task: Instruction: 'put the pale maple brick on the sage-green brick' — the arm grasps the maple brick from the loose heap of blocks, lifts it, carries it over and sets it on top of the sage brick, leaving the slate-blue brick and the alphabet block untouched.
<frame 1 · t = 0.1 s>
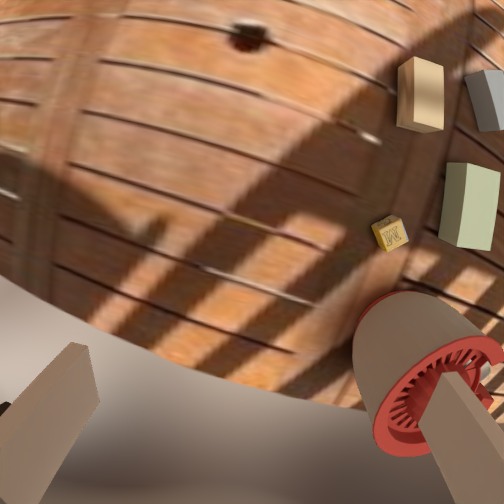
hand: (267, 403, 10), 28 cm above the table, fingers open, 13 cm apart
sage brick: (459, 203, 35), on the table
maple brick: (411, 99, 32), on the table
alphabet block: (384, 230, 37), on the table
citrus juicer: (397, 326, 40), on the table
slate brick: (481, 103, 31), on the table
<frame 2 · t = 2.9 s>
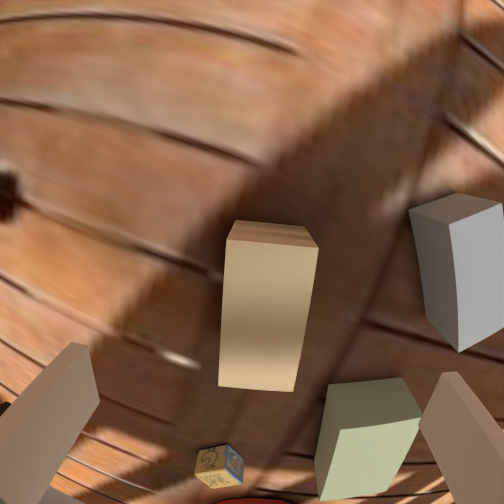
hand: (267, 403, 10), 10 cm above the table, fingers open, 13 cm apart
sage brick: (354, 423, 23), on the table
maple brick: (263, 286, 19), on the table
alphabet block: (222, 453, 24), on the table
slate brick: (442, 257, 19), on the table
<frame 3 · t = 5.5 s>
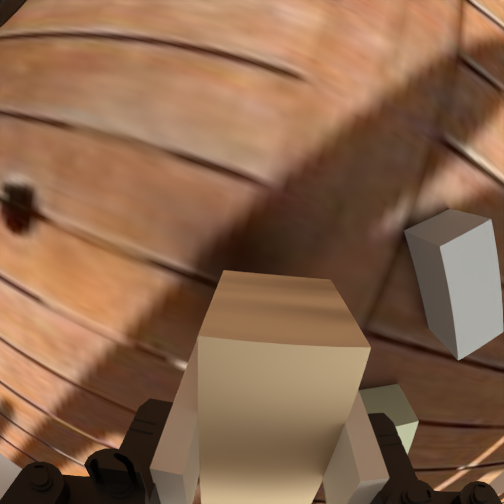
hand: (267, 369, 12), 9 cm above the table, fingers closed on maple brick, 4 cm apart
sage brick: (356, 430, 23), on the table
maple brick: (266, 365, 13), point 8 cm above the table, touching gripper
slate brick: (440, 270, 20), on the table
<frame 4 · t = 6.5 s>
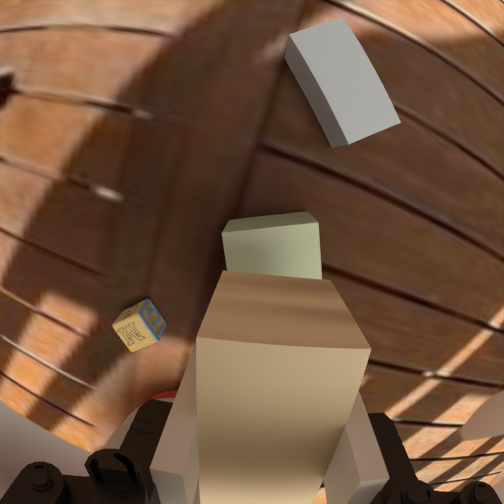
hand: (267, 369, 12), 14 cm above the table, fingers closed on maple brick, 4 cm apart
sage brick: (275, 276, 26), on the table
maple brick: (265, 366, 13), point 13 cm above the table, touching gripper
alphabet block: (146, 316, 27), on the table
citrus juicer: (200, 424, 30), on the table
slate brick: (330, 92, 21), on the table
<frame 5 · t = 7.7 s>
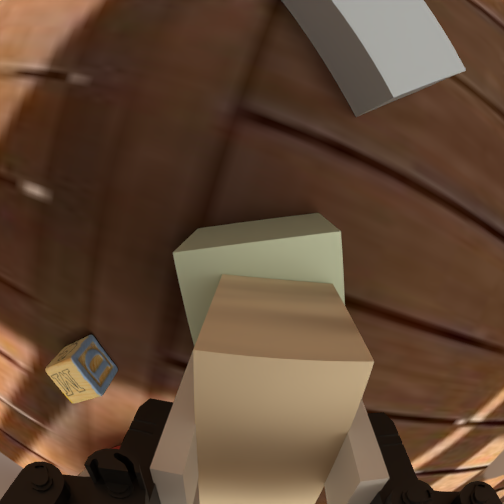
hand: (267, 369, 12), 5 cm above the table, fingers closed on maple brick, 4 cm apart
sage brick: (270, 310, 17), on the table
maple brick: (266, 370, 12), point 5 cm above the table, touching gripper
alphabet block: (92, 356, 18), on the table
slate brick: (348, 38, 13), on the table
when the fingers open (5 cm above the table, at t = 7.8 s): maple brick stays where it is, resting on sage brick.
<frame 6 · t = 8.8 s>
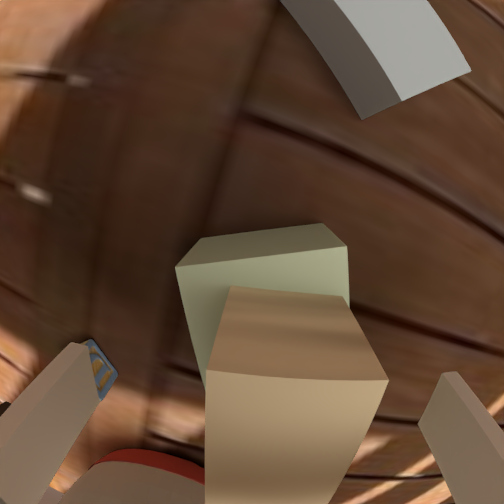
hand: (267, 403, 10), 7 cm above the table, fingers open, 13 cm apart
sage brick: (273, 320, 17), on the table, touching maple brick
maple brick: (273, 381, 12), point 5 cm above the table, touching sage brick
alphabet block: (92, 360, 18), on the table
citrus juicer: (175, 483, 21), on the table
slate brick: (351, 40, 13), on the table
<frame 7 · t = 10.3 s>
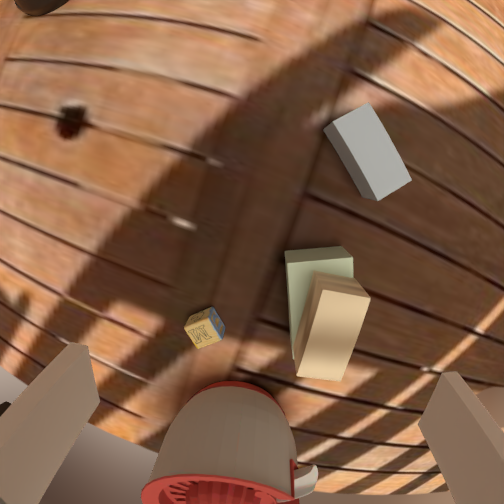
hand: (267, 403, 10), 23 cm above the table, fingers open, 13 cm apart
sage brick: (315, 292, 34), on the table, touching maple brick
maple brick: (323, 314, 29), point 5 cm above the table, touching sage brick
alphabet block: (208, 321, 35), on the table
citrus juicer: (242, 410, 38), on the table
slate brick: (358, 154, 30), on the table
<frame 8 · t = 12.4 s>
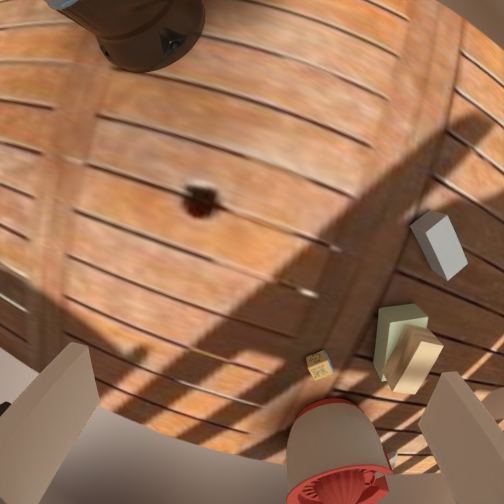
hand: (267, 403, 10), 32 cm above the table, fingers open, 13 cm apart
sage brick: (393, 334, 44), on the table, touching maple brick
maple brick: (405, 350, 39), point 5 cm above the table, touching sage brick
alphabet block: (318, 359, 46), on the table
citrus juicer: (331, 418, 49), on the table
slate brick: (430, 240, 40), on the table
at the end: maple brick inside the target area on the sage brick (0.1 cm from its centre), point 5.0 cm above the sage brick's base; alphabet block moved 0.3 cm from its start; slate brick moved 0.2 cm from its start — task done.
